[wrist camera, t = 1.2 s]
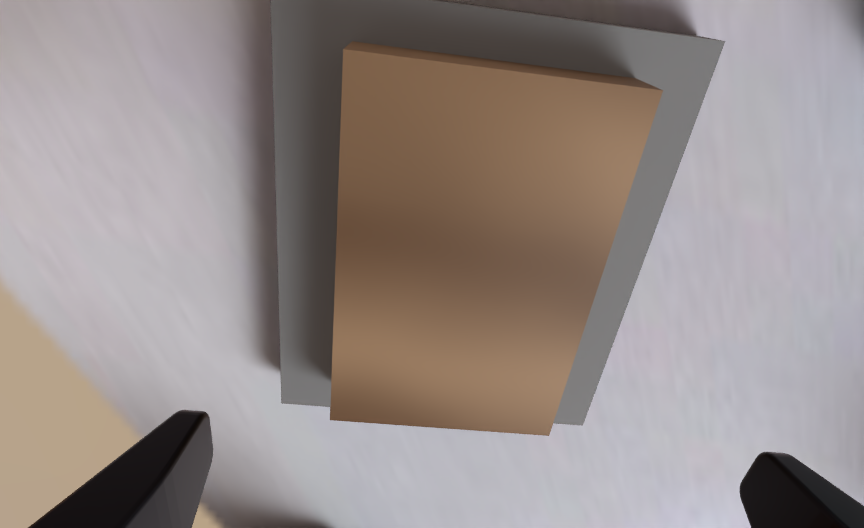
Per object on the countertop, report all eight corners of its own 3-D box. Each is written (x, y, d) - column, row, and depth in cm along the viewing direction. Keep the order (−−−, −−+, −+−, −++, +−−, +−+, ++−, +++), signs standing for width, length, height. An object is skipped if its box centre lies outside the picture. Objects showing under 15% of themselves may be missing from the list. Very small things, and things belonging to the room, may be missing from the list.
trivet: (573, 399, 18) (582, 425, 17) (290, 377, 17) (281, 403, 16) (699, 35, 12) (725, 41, 11) (283, -22, 12) (269, -22, 11)
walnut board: (538, 399, 16) (548, 435, 15) (337, 384, 16) (329, 419, 15) (635, 78, 12) (663, 90, 10) (352, 41, 11) (342, 49, 10)
